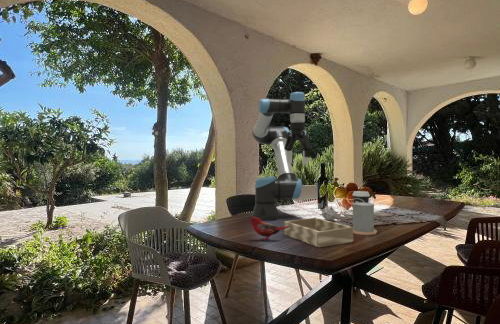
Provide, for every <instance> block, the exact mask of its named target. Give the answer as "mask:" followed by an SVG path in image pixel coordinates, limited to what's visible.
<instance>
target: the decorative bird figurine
mask: <svg viewBox="0 0 500 324" xmlns="http://www.w3.org/2000/svg"><path fill="white" fill-rule="evenodd" d="M248 223H251V226H252V227H253V228H252V229H253V230H254V232H255V233H256V234H257V235H259V236H262V237H263V238H260V240H262V241H265V240H266V241H269V240H270V237H271V236H274V235H276V234H278V233H279V232H281V231H282V230H284V229H285V228H288V227H290V226H286V227H284V226H280V227H279V226H277V225H275V224H272V223H268V222H266V221H264V220H260V219H259V218H257V217H251V219H250V220H249V221H248Z"/></svg>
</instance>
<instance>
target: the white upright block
mask: <svg viewBox="0 0 500 324" xmlns="http://www.w3.org/2000/svg"><path fill="white" fill-rule="evenodd" d="M374 222H375V204H374V203H373V202H371V203H370V202H368V203H364V202H356V203H354V202H353V203H352V227H353V230H354V231H358V232H373V231H374V229H375V226H374V225H375V223H374Z"/></svg>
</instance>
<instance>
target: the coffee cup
mask: <svg viewBox="0 0 500 324" xmlns="http://www.w3.org/2000/svg"><path fill="white" fill-rule="evenodd" d="M351 196H352V198H353V203H356V202H364V203H370V202H369V201H370V200H369V199H370V197H371V195H370V193H369V191H362V190H356V191H355V190H354V191H353V193H352V195H351Z"/></svg>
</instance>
